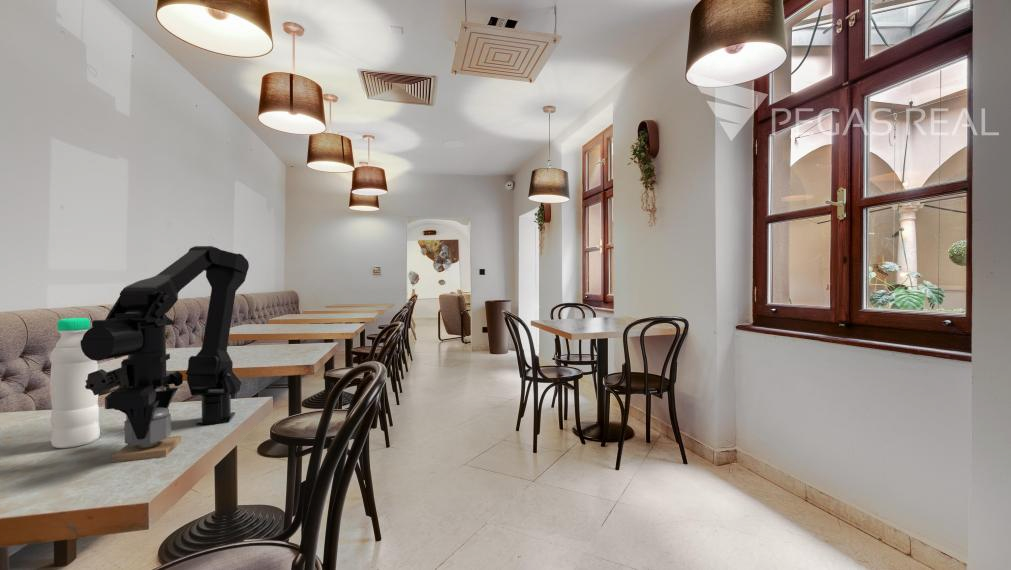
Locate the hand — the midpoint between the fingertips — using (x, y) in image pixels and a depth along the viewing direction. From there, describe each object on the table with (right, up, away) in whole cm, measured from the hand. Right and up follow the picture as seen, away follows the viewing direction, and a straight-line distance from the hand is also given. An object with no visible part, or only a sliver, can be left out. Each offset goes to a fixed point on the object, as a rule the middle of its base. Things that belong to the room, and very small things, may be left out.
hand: (148, 433), depth 86 cm
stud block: (0, -4, 0) cm, 4 cm away
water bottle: (-18, -4, +5) cm, 19 cm away
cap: (0, -1, 0) cm, 1 cm away
